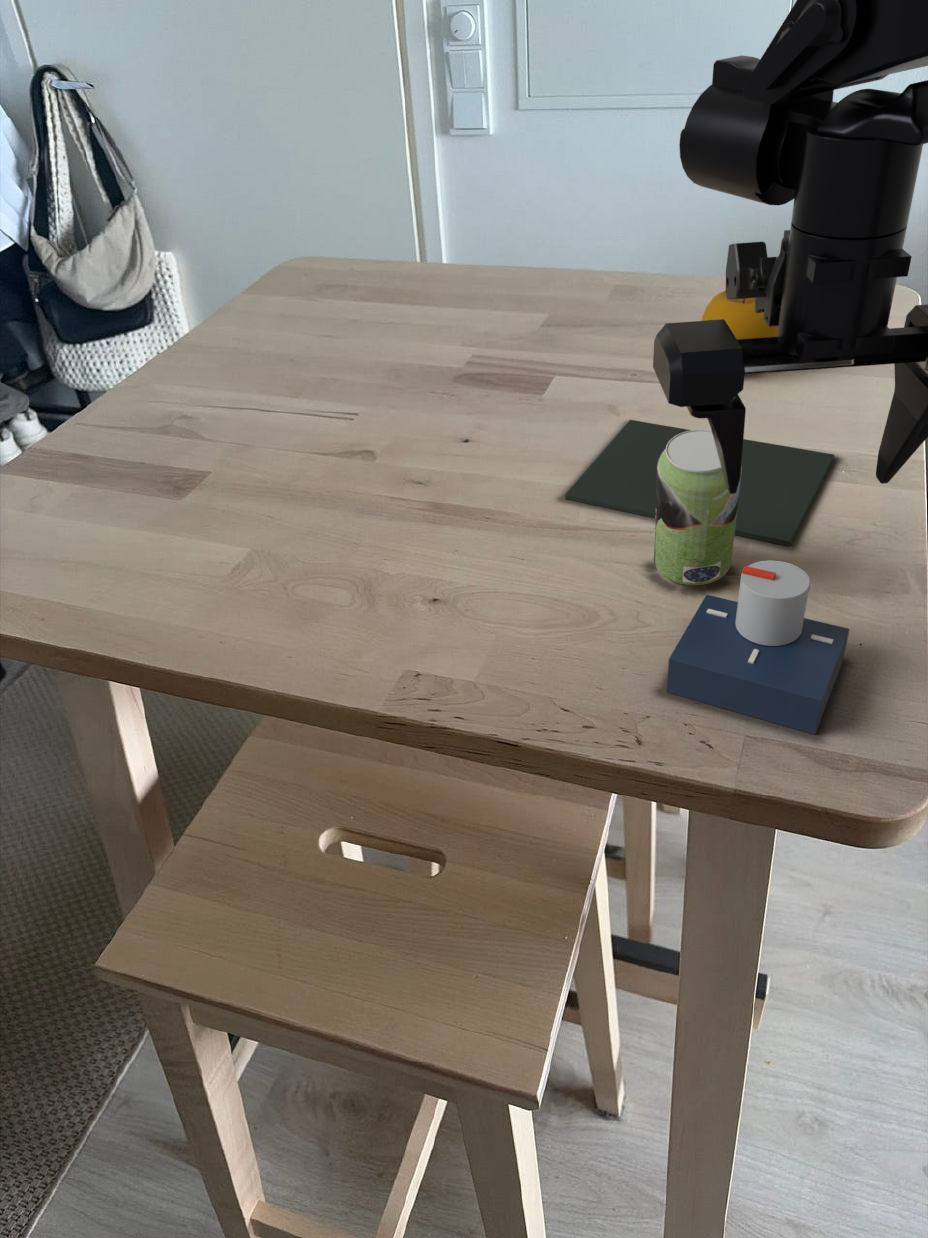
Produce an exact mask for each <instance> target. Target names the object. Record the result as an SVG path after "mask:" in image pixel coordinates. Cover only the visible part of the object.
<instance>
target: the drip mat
mask: <svg viewBox="0 0 928 1238" xmlns="http://www.w3.org/2000/svg"><path fill="white" fill-rule="evenodd" d="M690 430H691V429H686V428H681V427H675V426H670V425H665V424H658V423H652V422H648V421H640V420H634V419H629V421H628V422H627V423H626V424H625V425H624V426H623V427H622V428H621V430H619V432H618V433H617V434H616V435H615V436H614V438H613V439H612V440H611V441H610V443H609V444H608V445H607V446H606V447H605V448H604V449H603V450H602V452H601V453H600V454H598V456H597V457H596V459H595V460H593V462H592V463H591V464H590V465H589V466H588V468H586V470H585V471H584V472H583V473H582V475H581V476H579V478H578V479H577V480H576V481H575V483H574V484H573V485H572V486H571V487H570V488H569V489H568V490H567V492H566V493H565V495H564V499H565V500H569V501H573V502H579V503H583V504H587V505H593V506H597V507H602V508H606V509H612V510H616V511H621V512H625V513H630V514H633V515H635V514H636V515H640V516H644V517H649V518H654V519H655V509H656V483H657V463H658V460H659V457H660V455H661V454H662V452H663V451H664V450H665V449H666V446H667V444H668V442H669V441H670V440H671V439H672V438H673V437H675V436H676V435H678V434H680V433H683V432H686V431H690ZM834 460H835V454H834V453H829V452H828V453H827V452H823V451H822V452H821V451H816V450H810V449H805V448H799V447H792V446H786V445H781V444H774V443H769V442H764V441H763V442H762V441H758V440H751V439H745V438H744V439H743V452H742V473H741V482H740V491H739V499H738V508H737V517H736V526H735V534H734V536H739V537H743V538H748V539H752V540H758V541H762V542H767V543H772V544H775V545H776V544H777V545H780V546H786V547H790V546H791V544H792V542H793V540H794V538H795V536H796V535H797V532H798V530H799V529H800V526H801V525H802V523H803V520H804V518H805V516H806V515H807V513H808V510H809V509H810V506H811V505H812V503H813V501H814V499H815V496H816V495H817V493H818V491H819V489H820V487H821V486H822V483H823V481H824V479H825V477H826V475H827V473H828V472H829V470H830V467H831V466H832V464H833V462H834Z"/></svg>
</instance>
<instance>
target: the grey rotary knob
mask: <svg viewBox="0 0 928 1238" xmlns="http://www.w3.org/2000/svg"><path fill="white" fill-rule="evenodd" d="M741 571H742V572H741V574H740V575H741V576H740V581H739V582H740V583H739V589H738V590H739V592H738V599H737V602H738V606H737V614H736V622H735V624H736V628H737V630H738V632H739V633H740V634H741V635H742V636H743V637H744V638H746V639H748V640H749V641H751V642H754V643H757V644H761V645H766V646H781V645H786V644H789V643H791V642H793V641H795V640H796V639H797V638H798V637H799V636H800V634H801V632H802V627H803V621H804V618H805V614H806V609H807V604H808V597H809V592H810V587H811V580H810V577H809V575H808V574H807V572H805V570H804V569H802V568H800V567H799V566H797V565H795V564H792V563H791V562H786V561H781V560H761V561H756V562H753V563H751V564H749V565H744V567H743V568H742V570H741Z"/></svg>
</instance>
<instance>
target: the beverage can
mask: <svg viewBox="0 0 928 1238" xmlns="http://www.w3.org/2000/svg"><path fill="white" fill-rule="evenodd" d="M689 430H690V431H686V432H683V433H680V434H678V435H676V436H675V437H673V438H672V439H671V440H670V441H669V442H668V444H667V446H666V449H665V450H664V451H663V452H662V454H661V455H660V457H659V460H658V463H657V483H656V509H655V518H654V535H653V536H654V538H653V539H654V540H653V563H654V566H655V569H656V570H658V573H659V574H661V575H662V577H664V578H666V579H667V580H669V581H671V582H673V583H677V584H679V585H684V586H703V585H707V584H712V583H714V582H717V581H718V580H720V579H722V577H724V576H725V575H726V574H727V573H728V571H729V570H730V568H731V564H732V561H733V560H732V559H733V551H734V541H735V535H734V534H735V526H736V517H737V508H738V499H739V491H740V482H741V477H740V481H739V485H738V489H737V492H736V494H730V493H729V491H728V489H727V487H726V484H725V480H724V476H723V472H722V468H721V464H720V461H719V457H718V453H717V449H716V445H715V441H714V438H713V434H712V430H711V429H689ZM741 473H742V466H741Z"/></svg>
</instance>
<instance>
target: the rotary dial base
mask: <svg viewBox="0 0 928 1238" xmlns="http://www.w3.org/2000/svg"><path fill="white" fill-rule="evenodd" d="M737 606H738V601H735V600H731V599H728V598H727V599H726V598H723V597H719V596H714V595H711V594H706V595H705V596H704V598H703V599H702V601H701V603H700V605H699V607H698V608H697V610H696V612H695V613H694V615H693V616H692V619H691V620H690V622H689V624H688V626H687V627H686V629H685V631H684V632H683V634H682V636H681V638H680V639H679V640H678V643H677V644H676V646H675V647H674V649H673V651H672V653H671V654H670V656H669V658H668V666H667V667H668V668H667V680H666V693H668V694H672V695H676V696H679V697H682V698H685V699H690V700H693V701H696V702H700V703H703V704H707V705H710V706H714V707H717V708H721V709H724V710H728V711H731V712H735V713H738V714H741V715H744V716H748V717H752V718H756V719H759V720H763V721H766V722H770V723H772V724H777V725H779V726H783V727H787V728H790V729H793V730H797V731H801V732H804V733H808V734H811V735H816V734H817V730H818V728H819V726H820V723H821V720H822V718H823V715H824V712H825V710H826V707H827V704H828V702H829V699H830V697H831V694H832V691H833V689H834V687H835V683H836V681H837V678H838V675H839V672H840V670H841V668H842V665H843V662H844V658H845V653H846V647H847V643H848V638H849V634H850V628H847V627H845V626H844V627H843V626H840V625H835V624H831V623H827V622H823V621H819V620H818V621H817V620H815V619H811V618H806V617H804V621H803V627H802V632H801V634H800V636H799V637H798V638H797V639H796V640H795V641H793V642H791V643H789V644H786V645H781V646H766V645H761V644H757V643H754V642H751V641H749V640H748V639H746V638H744V637H743V636H742V635H741V634H740V633H739V632H738V630H737V628H736V624H735V622H736V614H737Z"/></svg>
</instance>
